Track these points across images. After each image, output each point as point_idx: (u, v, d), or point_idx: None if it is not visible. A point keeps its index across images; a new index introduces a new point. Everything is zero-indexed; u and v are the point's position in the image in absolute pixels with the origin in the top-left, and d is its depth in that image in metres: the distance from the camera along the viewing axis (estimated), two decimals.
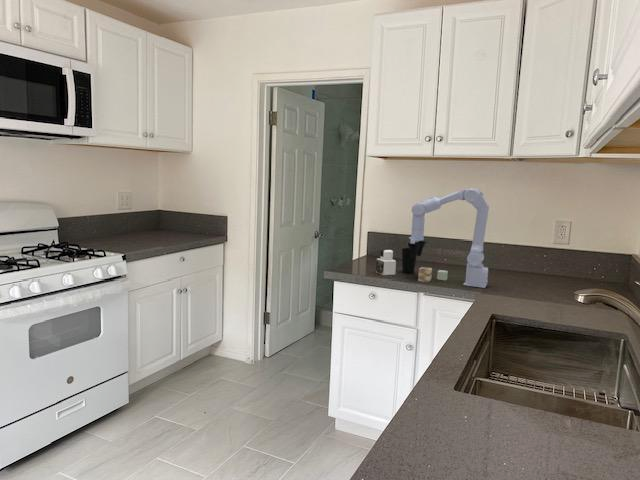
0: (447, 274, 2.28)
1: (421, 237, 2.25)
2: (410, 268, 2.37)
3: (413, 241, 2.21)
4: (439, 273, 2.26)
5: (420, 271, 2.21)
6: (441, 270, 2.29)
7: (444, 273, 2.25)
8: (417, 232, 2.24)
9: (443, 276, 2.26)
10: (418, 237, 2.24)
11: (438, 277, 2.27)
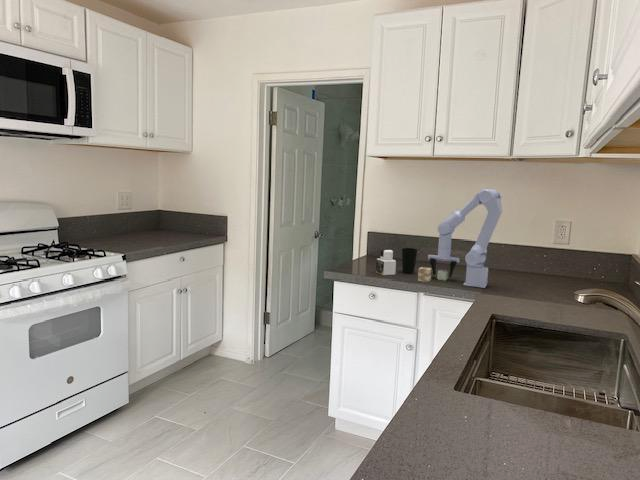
0: (447, 274, 2.28)
1: (439, 255, 2.25)
2: (410, 268, 2.37)
3: (428, 256, 2.29)
4: (439, 273, 2.26)
5: (419, 272, 2.22)
6: (441, 270, 2.29)
7: (444, 273, 2.25)
8: (438, 249, 2.27)
9: (443, 276, 2.26)
10: (438, 255, 2.26)
11: (438, 277, 2.27)
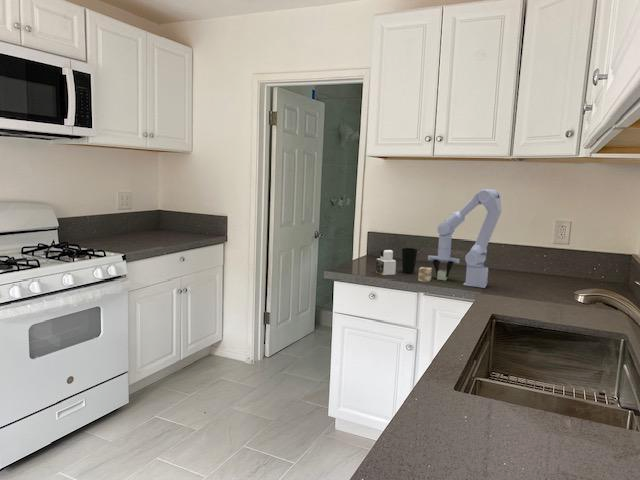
0: None
1: (439, 256, 2.25)
2: (410, 268, 2.37)
3: (428, 257, 2.29)
4: (439, 273, 2.26)
5: (420, 271, 2.21)
6: (441, 270, 2.29)
7: (444, 273, 2.25)
8: (438, 250, 2.27)
9: (443, 276, 2.26)
10: (438, 255, 2.26)
11: (438, 277, 2.27)
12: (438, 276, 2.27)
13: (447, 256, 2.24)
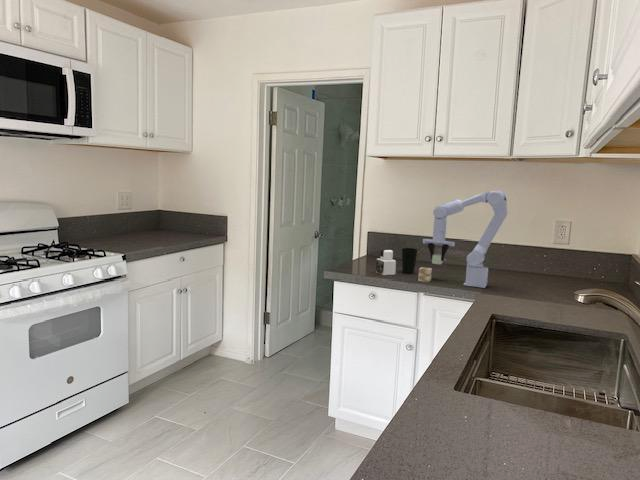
0: None
1: (434, 239, 2.22)
2: (410, 268, 2.37)
3: None
4: (434, 257, 2.24)
5: (420, 272, 2.21)
6: (436, 254, 2.26)
7: (439, 257, 2.23)
8: (433, 233, 2.24)
9: (438, 260, 2.23)
10: (432, 239, 2.24)
11: (433, 261, 2.24)
12: (433, 260, 2.24)
13: (442, 239, 2.21)
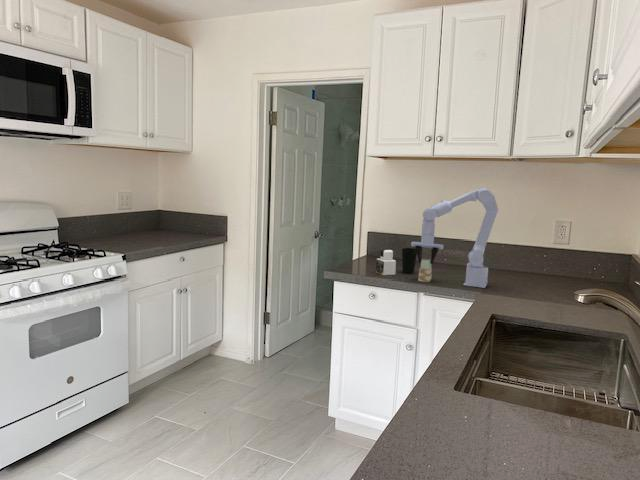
0: None
1: (423, 242, 2.19)
2: (410, 268, 2.37)
3: None
4: (423, 262, 2.21)
5: (420, 272, 2.21)
6: (425, 259, 2.24)
7: (428, 262, 2.20)
8: None
9: (427, 265, 2.20)
10: (421, 242, 2.21)
11: (422, 266, 2.21)
12: (422, 265, 2.21)
13: (430, 242, 2.18)
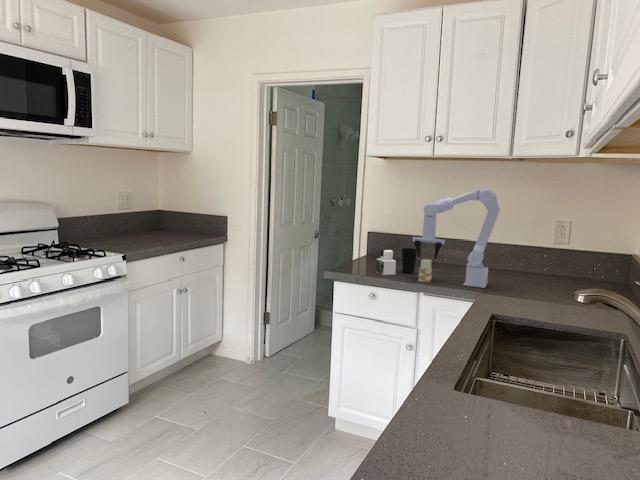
0: None
1: (424, 237, 2.21)
2: (410, 268, 2.37)
3: (413, 239, 2.26)
4: (423, 262, 2.21)
5: (420, 271, 2.21)
6: (425, 259, 2.24)
7: (428, 262, 2.20)
8: None
9: (427, 265, 2.20)
10: (422, 237, 2.23)
11: (422, 266, 2.21)
12: (422, 265, 2.21)
13: (432, 237, 2.20)
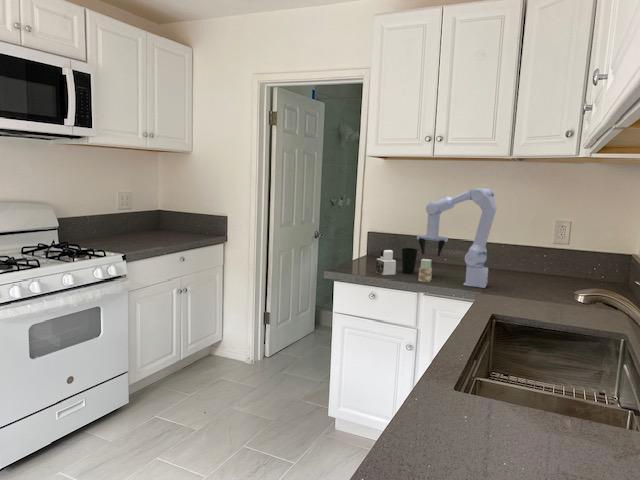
0: None
1: (428, 235, 2.30)
2: (410, 268, 2.37)
3: None
4: (423, 262, 2.21)
5: (420, 271, 2.21)
6: (425, 259, 2.24)
7: (428, 262, 2.20)
8: None
9: (427, 265, 2.20)
10: (426, 235, 2.31)
11: (422, 266, 2.21)
12: (422, 265, 2.21)
13: (435, 235, 2.29)
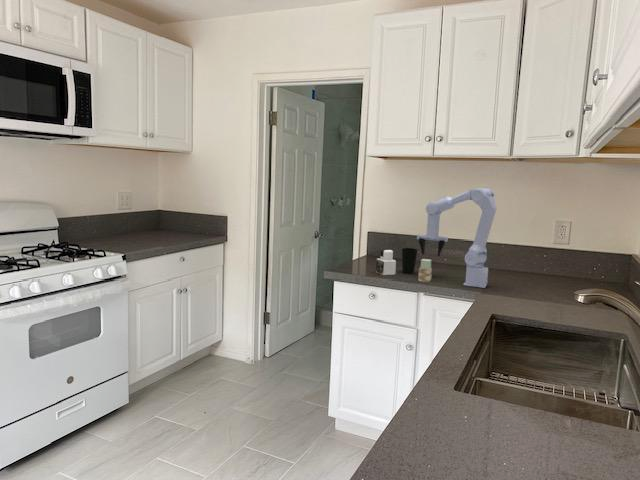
0: None
1: (428, 235, 2.30)
2: (410, 268, 2.37)
3: None
4: (423, 262, 2.21)
5: (420, 271, 2.21)
6: (425, 259, 2.24)
7: (428, 262, 2.20)
8: None
9: (427, 265, 2.20)
10: (426, 235, 2.31)
11: (422, 266, 2.21)
12: (422, 265, 2.21)
13: (435, 235, 2.29)
